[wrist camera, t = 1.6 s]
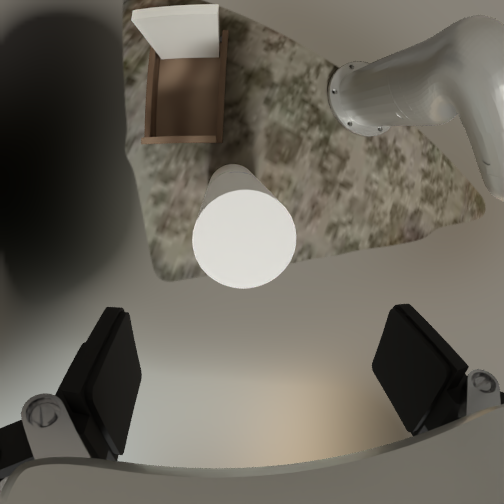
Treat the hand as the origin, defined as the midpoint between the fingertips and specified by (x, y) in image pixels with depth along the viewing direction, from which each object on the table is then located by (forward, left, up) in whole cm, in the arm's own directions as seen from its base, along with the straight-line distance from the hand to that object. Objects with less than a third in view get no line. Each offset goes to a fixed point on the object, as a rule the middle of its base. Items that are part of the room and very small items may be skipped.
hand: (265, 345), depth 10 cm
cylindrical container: (0, 0, -36) cm, 36 cm away
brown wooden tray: (+7, -15, -36) cm, 40 cm away
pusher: (+7, -20, -35) cm, 41 cm away
